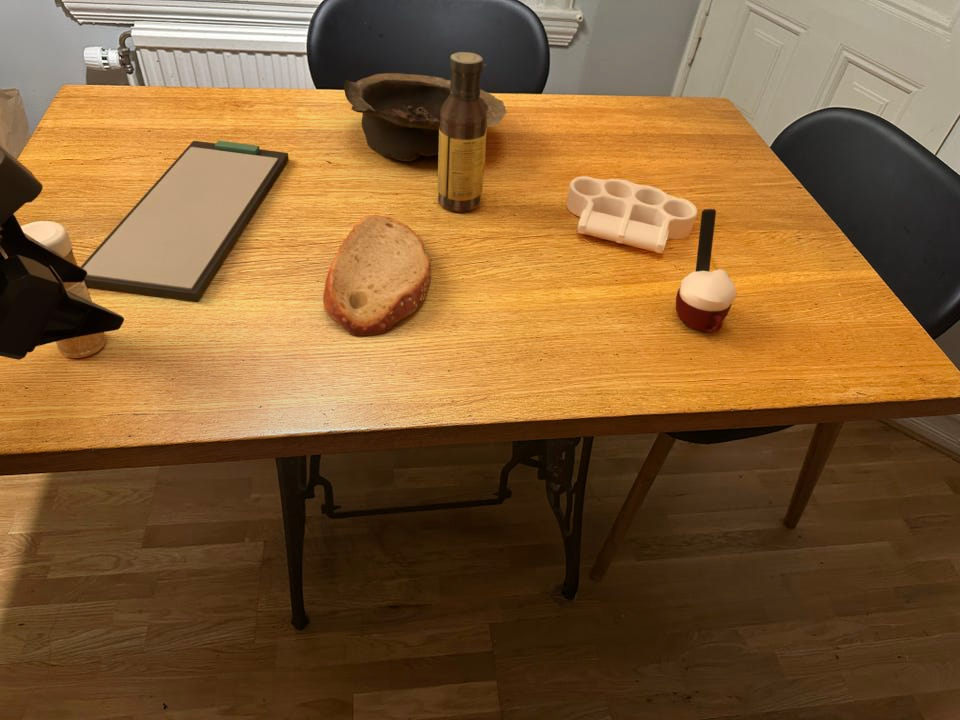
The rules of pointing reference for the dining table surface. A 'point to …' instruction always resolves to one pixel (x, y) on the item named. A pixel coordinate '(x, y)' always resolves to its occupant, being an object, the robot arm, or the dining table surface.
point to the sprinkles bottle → (66, 285)
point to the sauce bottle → (462, 136)
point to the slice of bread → (376, 276)
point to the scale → (186, 222)
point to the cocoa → (705, 286)
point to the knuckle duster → (629, 212)
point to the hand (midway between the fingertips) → (102, 298)
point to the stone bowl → (407, 112)
